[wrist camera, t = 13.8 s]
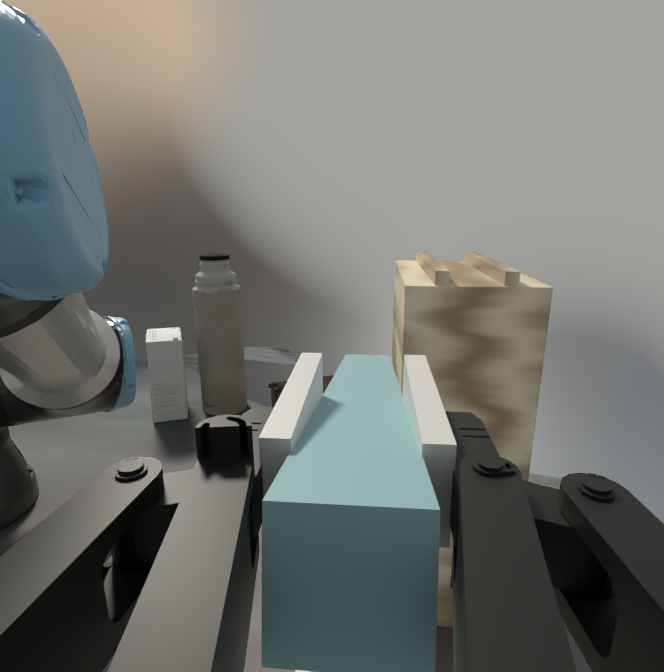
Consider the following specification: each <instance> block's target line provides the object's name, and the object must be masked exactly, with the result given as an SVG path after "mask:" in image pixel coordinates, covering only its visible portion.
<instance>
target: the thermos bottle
mask: <svg viewBox="0 0 664 672" xmlns="http://www.w3.org/2000/svg"><path fill="white" fill-rule="evenodd" d="M228 259H229V254H221V253H213V254H212V253H210V254H203V255H200V260H201V263H200V272H199V273H197V274H196V280H195V282H196V287H194V288H193V290H192V291H193V301H194V311H195V324H196V335H197V346H198V358H199V368H200V380H201V391H202V402H203V410H204V412H205V413H207V414H209V415H213V416H219V415H228V414H229V415H233V414H236V413H239V412H241V411H243V410H244V409H245V408H246V407H247V393H246V376H245V359H244V344H243V326H242V310H241V294H240V286H239V285H236V277H235V273H234V272H232V271H230V266H229V262H228Z"/></svg>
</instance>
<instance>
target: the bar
mask: <svg viewBox="0 0 664 672" xmlns="http://www.w3.org/2000/svg"><path fill="white" fill-rule="evenodd" d="M439 538H440V507H439V504H438V501H437V498H436V495H435V492H434V489H433V486H432V483H431V480H430V477H429V474H428V471H427V468H426V465H425V462H424V459H423V457H422V456H421V453H420V450H419V447H418V444H417V441H416V438H415V435H414V432H413V428H412V425H411V422H410V419H409V416H408V413H407V410H406V407H405V404H404V401H403V396H402V392H401V389H400V386H399V383H398V380H397V377H396V374H395V371H394V368H393V365H392V362H391V359H390V356H389V355H345V358H344V359H343V361H342V362H341V364H340V366H339V368H338V369H337V371H336V373H335V375H334V376H333V378H332V380H331V382H330V383H329V385H328V387H327V388H326V390H325V392H324V394H323V396H322V398H321V400H320V401H319V403H318V405H317V407H316V408H315V410H314V412H313V414H312V416H311V417H310V419H309V421H308V423H307V424H306V426H305V428H304V430H303V431H302V433H301V435H300V437H299V439H298V440H297V442H296V444H295V446H294V447H293V449H292V451H290V453H289V455H288V456H287V458H286V460H285V462H284V463H283V465H282V467H281V469H280V470H279V472H278V474H277V476H276V477H275V479H274V481H273V483H272V484H271V486H270V488H269V490H268V491H267V493H266V495H265V497H264V498H263V500H262V667H268V668H279V669H291V670H303V671H314V672H436V640H437V606H438V572H439Z"/></svg>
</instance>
